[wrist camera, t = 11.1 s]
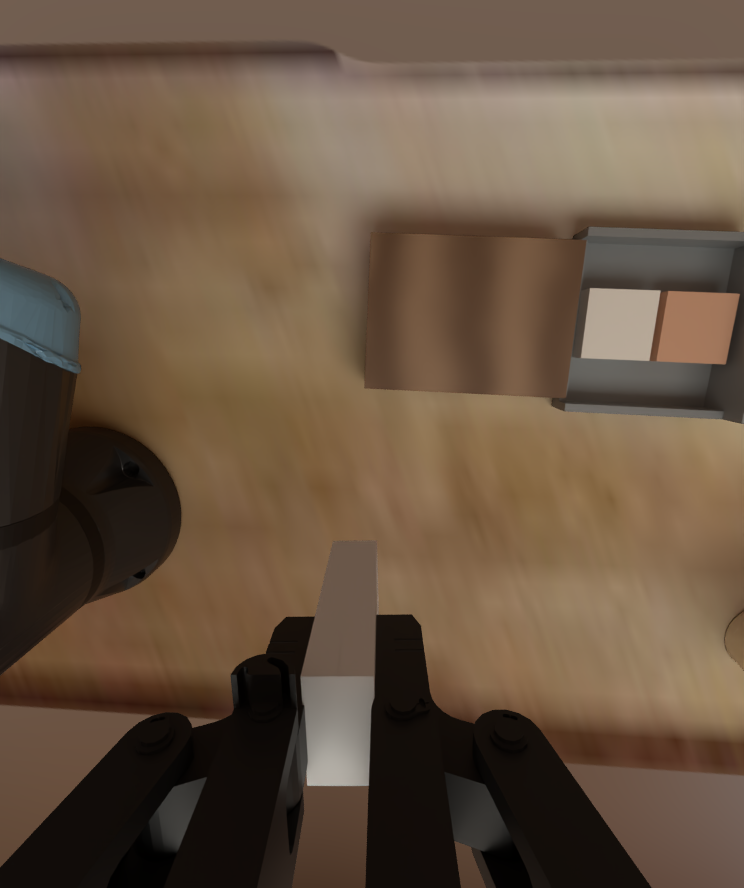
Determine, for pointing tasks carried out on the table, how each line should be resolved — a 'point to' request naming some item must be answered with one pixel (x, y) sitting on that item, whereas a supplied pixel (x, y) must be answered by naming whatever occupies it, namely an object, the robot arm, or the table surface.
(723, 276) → the tray
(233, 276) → the table surface
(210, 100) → the table surface
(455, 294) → the walnut board
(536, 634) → the table surface
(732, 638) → the utensil holder
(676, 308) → the terracotta tile
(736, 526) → the table surface
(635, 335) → the cream tile
